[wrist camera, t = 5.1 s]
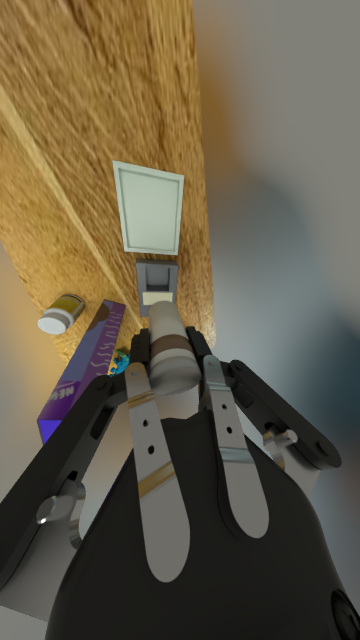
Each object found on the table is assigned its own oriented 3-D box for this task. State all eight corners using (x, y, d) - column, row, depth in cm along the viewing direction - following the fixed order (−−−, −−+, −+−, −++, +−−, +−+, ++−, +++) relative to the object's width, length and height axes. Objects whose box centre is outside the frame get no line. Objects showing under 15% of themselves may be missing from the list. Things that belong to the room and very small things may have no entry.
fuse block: (137, 258, 27) (133, 272, 19) (175, 260, 28) (184, 274, 21) (141, 308, 34) (139, 332, 26) (171, 307, 35) (178, 330, 28)
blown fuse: (147, 300, 14) (147, 370, 7) (180, 300, 15) (207, 363, 8) (148, 326, 16) (149, 398, 10) (177, 324, 17) (196, 391, 10)
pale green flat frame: (115, 165, 19) (112, 160, 17) (181, 179, 21) (184, 175, 20) (126, 249, 25) (124, 251, 24) (175, 253, 28) (177, 255, 26)
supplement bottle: (55, 295, 28) (26, 317, 21) (78, 292, 28) (57, 313, 22) (68, 313, 31) (46, 338, 24) (89, 310, 31) (73, 333, 25)
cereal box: (104, 299, 30) (35, 422, 12) (125, 305, 32) (95, 419, 14) (95, 348, 39) (47, 465, 20) (113, 350, 41) (83, 459, 22)
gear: (137, 371, 47) (111, 391, 39) (126, 362, 49) (99, 379, 41) (140, 347, 42) (111, 364, 34) (128, 339, 44) (98, 353, 36)
